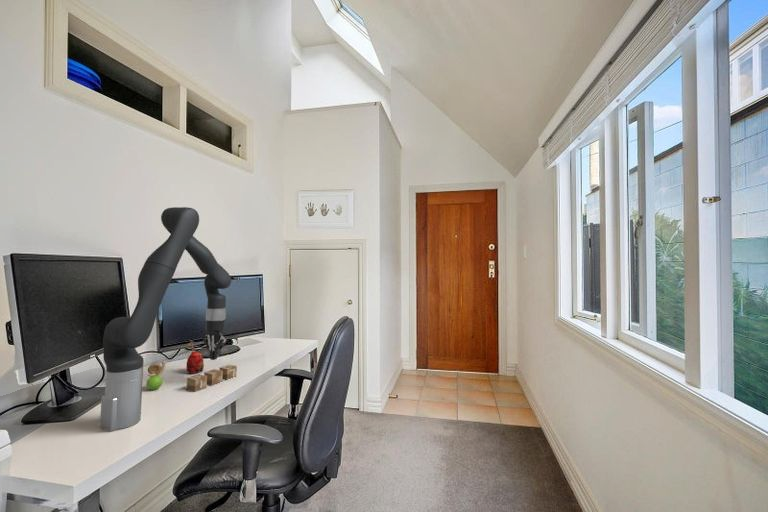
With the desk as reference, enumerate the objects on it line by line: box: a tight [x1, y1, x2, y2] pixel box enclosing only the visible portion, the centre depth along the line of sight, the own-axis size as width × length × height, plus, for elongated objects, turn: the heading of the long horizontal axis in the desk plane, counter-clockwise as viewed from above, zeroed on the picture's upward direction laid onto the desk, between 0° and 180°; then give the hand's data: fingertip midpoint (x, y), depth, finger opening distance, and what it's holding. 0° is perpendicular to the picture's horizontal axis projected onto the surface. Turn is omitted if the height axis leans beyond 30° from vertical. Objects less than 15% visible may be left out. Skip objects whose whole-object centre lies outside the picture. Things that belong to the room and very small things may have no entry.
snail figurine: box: [145, 357, 167, 391], centre depth 131 cm, size 5×6×12 cm
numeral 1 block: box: [186, 373, 208, 393], centre depth 132 cm, size 5×5×5 cm
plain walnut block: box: [203, 368, 223, 387], centre depth 138 cm, size 5×5×5 cm
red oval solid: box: [185, 339, 205, 375], centre depth 152 cm, size 8×7×15 cm
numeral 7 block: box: [218, 364, 238, 381], centre depth 145 cm, size 5×5×5 cm
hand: (213, 359), depth 138 cm, fingers closed
